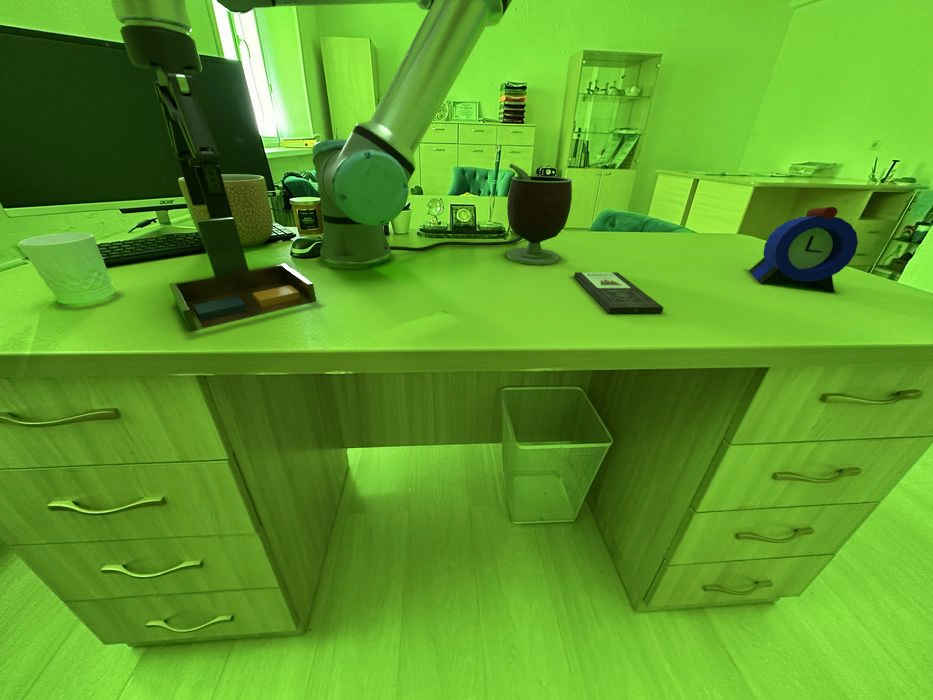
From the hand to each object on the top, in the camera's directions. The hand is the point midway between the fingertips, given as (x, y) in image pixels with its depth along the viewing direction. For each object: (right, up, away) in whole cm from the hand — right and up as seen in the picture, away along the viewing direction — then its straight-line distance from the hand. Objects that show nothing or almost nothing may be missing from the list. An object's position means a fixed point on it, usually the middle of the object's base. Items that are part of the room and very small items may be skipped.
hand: (211, 211), depth 56 cm
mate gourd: (+54, +1, +31) cm, 63 cm away
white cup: (-22, -13, +4) cm, 26 cm away
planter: (-17, +5, +35) cm, 39 cm away
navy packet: (+2, -16, -1) cm, 16 cm away
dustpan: (+4, -14, +3) cm, 15 cm away
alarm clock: (+106, -7, +21) cm, 109 cm away
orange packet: (+8, -13, +4) cm, 16 cm away
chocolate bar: (+66, -11, +12) cm, 68 cm away
